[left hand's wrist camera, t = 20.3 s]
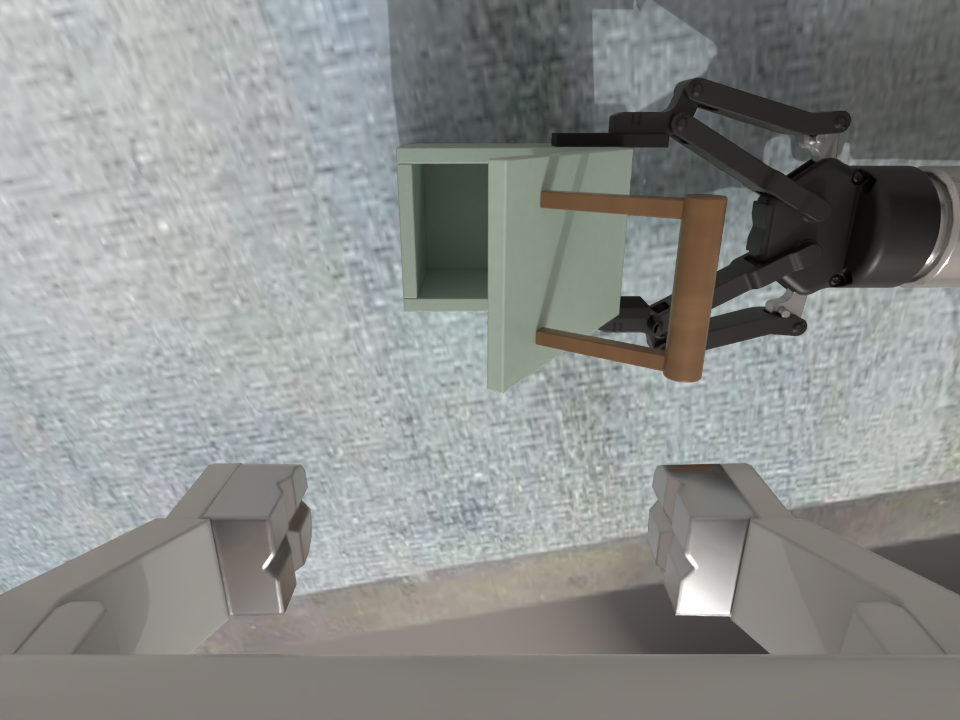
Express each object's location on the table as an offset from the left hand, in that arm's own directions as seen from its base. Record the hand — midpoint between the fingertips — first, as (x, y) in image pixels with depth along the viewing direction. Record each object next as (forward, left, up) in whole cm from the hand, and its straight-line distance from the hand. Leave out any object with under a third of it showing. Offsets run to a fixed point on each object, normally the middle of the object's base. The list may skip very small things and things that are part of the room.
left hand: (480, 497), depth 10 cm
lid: (+4, +1, -21) cm, 22 cm away
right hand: (+4, +1, -30) cm, 30 cm away
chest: (+2, 0, -36) cm, 37 cm away
